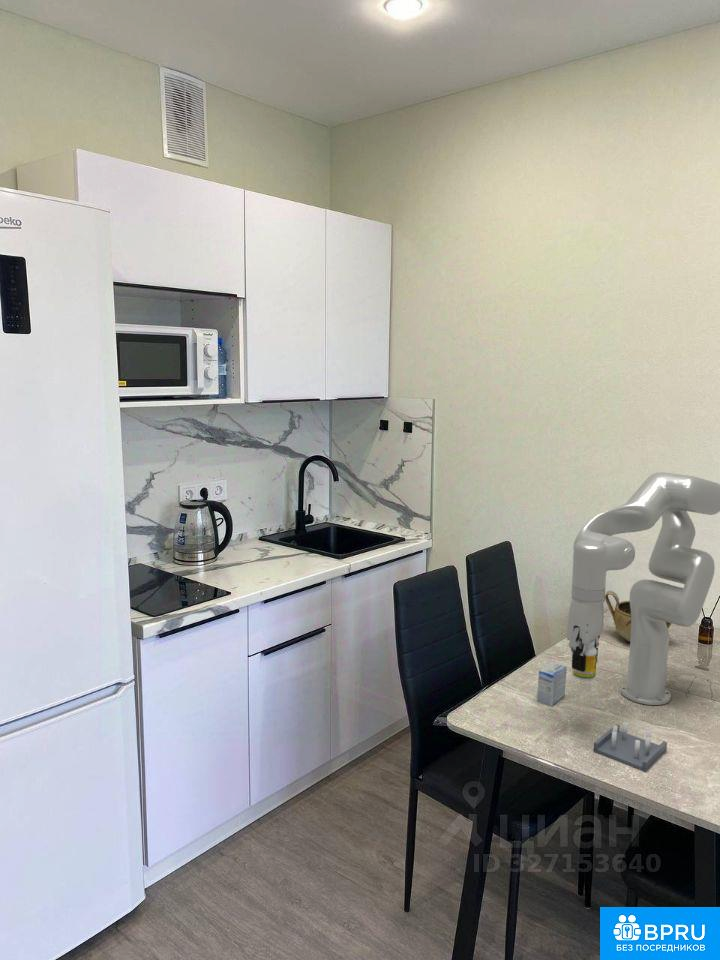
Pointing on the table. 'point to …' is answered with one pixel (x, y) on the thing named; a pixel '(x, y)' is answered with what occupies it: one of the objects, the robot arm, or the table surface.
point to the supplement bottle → (587, 663)
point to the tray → (629, 748)
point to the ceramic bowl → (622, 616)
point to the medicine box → (551, 683)
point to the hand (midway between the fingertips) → (584, 664)
